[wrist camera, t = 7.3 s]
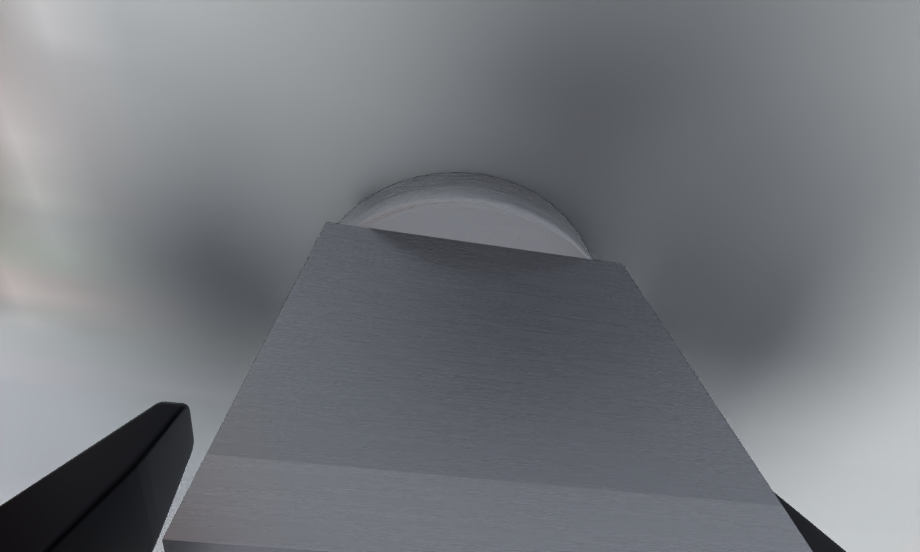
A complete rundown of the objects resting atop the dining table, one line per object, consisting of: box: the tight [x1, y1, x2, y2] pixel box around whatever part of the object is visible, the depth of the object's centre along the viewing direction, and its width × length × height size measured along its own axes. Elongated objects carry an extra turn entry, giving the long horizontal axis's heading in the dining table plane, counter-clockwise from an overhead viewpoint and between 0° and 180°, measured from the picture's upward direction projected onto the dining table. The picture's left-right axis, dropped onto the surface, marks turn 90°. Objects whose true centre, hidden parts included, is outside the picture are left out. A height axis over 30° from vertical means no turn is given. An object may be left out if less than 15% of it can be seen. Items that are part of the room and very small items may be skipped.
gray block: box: [162, 222, 813, 552], centre depth 8 cm, size 6×6×6 cm
